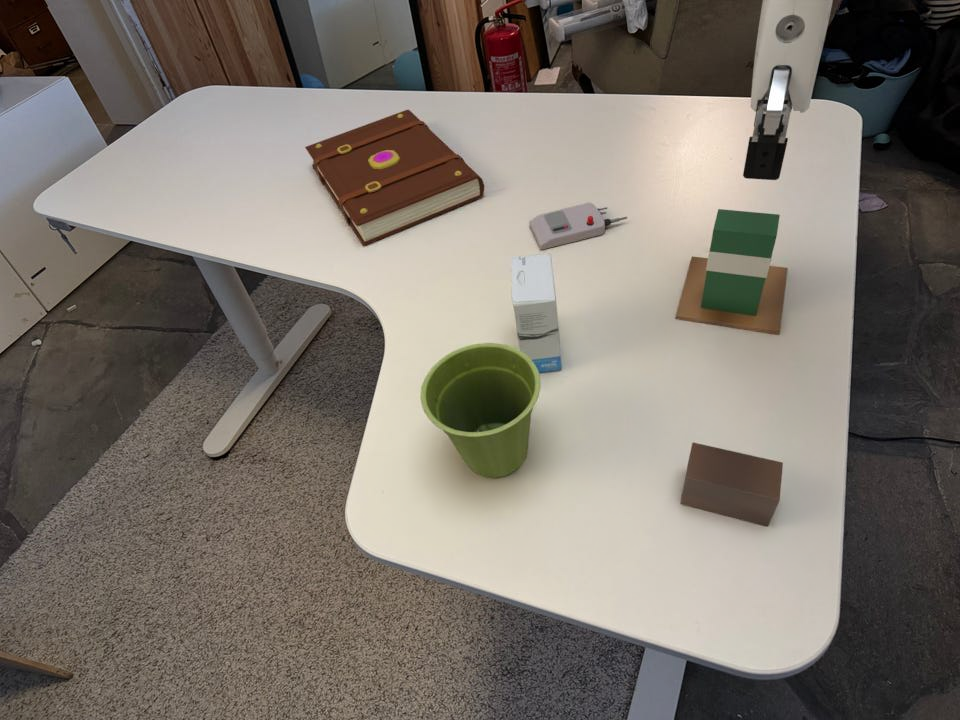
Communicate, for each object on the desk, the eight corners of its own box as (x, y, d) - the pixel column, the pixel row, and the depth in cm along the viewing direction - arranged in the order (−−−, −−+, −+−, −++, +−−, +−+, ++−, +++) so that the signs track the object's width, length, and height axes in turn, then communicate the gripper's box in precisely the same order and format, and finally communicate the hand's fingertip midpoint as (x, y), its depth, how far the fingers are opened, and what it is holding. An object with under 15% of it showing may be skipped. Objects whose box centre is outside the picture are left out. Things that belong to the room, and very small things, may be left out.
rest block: (772, 490, 59) (783, 462, 55) (768, 527, 57) (779, 500, 53) (687, 469, 62) (692, 442, 58) (680, 504, 59) (685, 477, 56)
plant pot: (535, 398, 71) (525, 331, 63) (560, 484, 63) (553, 419, 55) (436, 420, 71) (415, 356, 63) (449, 509, 63) (426, 448, 55)
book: (362, 247, 97) (352, 221, 93) (311, 167, 117) (302, 143, 114) (487, 196, 101) (482, 169, 98) (417, 128, 122) (411, 103, 118)
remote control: (518, 228, 94) (515, 212, 92) (614, 204, 94) (615, 188, 92) (528, 253, 89) (527, 237, 87) (630, 228, 90) (631, 211, 88)
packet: (712, 252, 79) (718, 201, 68) (766, 258, 77) (782, 206, 66) (699, 312, 78) (703, 270, 66) (755, 320, 75) (769, 278, 64)
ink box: (562, 371, 73) (557, 300, 65) (521, 375, 74) (511, 304, 65) (557, 322, 79) (551, 250, 70) (519, 326, 79) (509, 255, 71)
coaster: (786, 271, 79) (787, 267, 78) (779, 334, 72) (780, 331, 71) (691, 259, 83) (691, 256, 83) (675, 318, 76) (675, 315, 76)
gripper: (857, -11, 42) (801, 202, 54) (858, -81, 52) (811, 112, 64) (741, -6, 45) (713, 196, 57) (763, -73, 55) (736, 110, 67)
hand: (765, 151), depth 61 cm, fingers open, 9 cm apart
